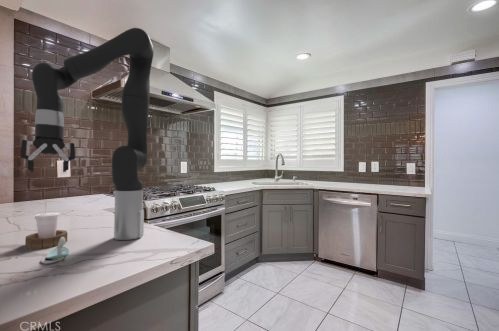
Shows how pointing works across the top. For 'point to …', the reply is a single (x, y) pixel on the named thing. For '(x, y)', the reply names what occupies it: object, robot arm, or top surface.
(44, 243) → the brown polygonal ring
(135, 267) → the top surface
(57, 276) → the top surface
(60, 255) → the pacifier
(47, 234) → the smoothie
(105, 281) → the top surface
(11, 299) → the top surface
